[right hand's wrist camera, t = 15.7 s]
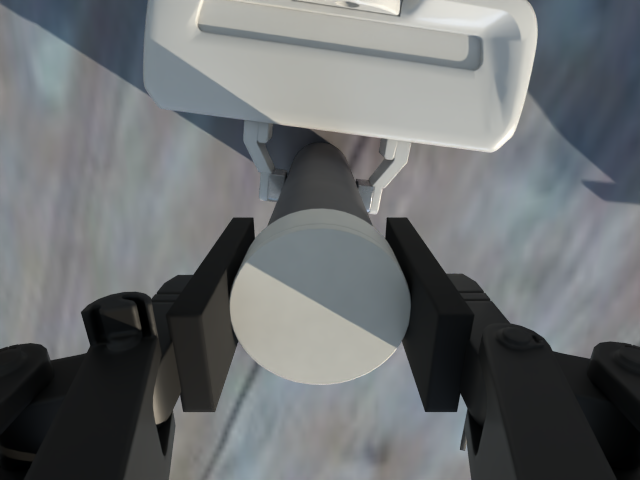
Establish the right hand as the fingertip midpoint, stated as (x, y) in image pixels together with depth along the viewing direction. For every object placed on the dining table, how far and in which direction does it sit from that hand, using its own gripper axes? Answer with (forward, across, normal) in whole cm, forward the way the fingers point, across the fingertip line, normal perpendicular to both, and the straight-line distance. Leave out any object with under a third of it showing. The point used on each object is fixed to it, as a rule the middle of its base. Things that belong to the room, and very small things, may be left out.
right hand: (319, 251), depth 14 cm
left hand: (+9, 0, -1) cm, 9 cm away
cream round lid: (-4, 0, 0) cm, 4 cm away
